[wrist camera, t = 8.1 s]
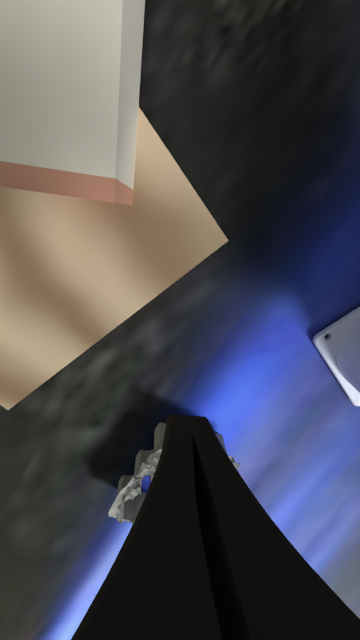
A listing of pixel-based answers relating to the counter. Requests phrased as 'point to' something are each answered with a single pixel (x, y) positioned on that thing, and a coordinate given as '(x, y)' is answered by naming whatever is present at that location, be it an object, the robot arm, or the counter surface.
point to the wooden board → (91, 263)
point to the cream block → (70, 96)
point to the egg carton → (130, 486)
